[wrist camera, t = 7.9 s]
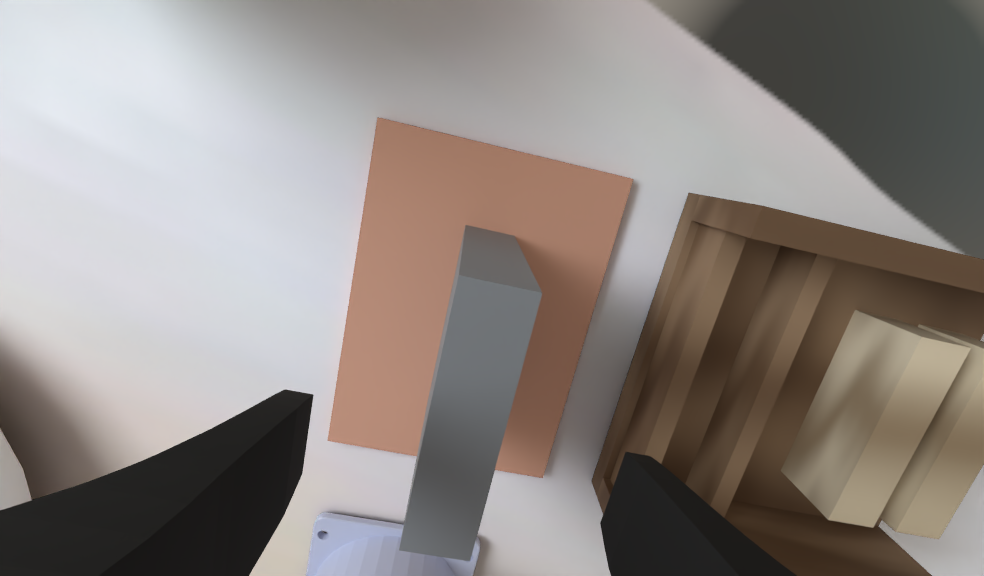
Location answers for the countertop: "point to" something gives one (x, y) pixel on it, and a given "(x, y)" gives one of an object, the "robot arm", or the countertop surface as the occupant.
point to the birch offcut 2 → (943, 452)
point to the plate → (11, 477)
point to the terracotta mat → (430, 274)
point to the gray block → (470, 393)
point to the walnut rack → (770, 365)
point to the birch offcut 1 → (870, 415)
